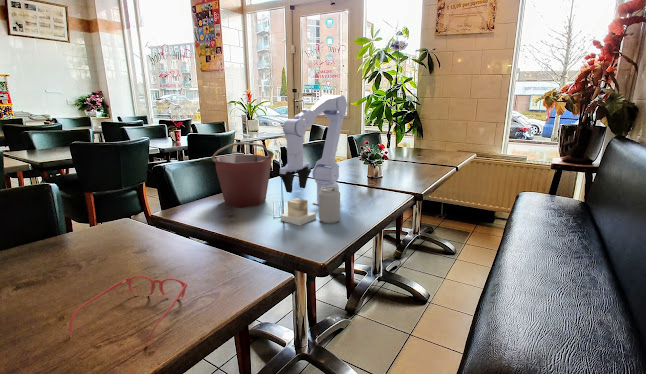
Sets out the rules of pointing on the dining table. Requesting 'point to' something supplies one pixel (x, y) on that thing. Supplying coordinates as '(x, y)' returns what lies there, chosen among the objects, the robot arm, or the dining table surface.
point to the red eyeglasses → (132, 291)
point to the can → (329, 205)
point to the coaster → (298, 218)
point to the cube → (297, 207)
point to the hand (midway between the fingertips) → (295, 189)
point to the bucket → (243, 177)
